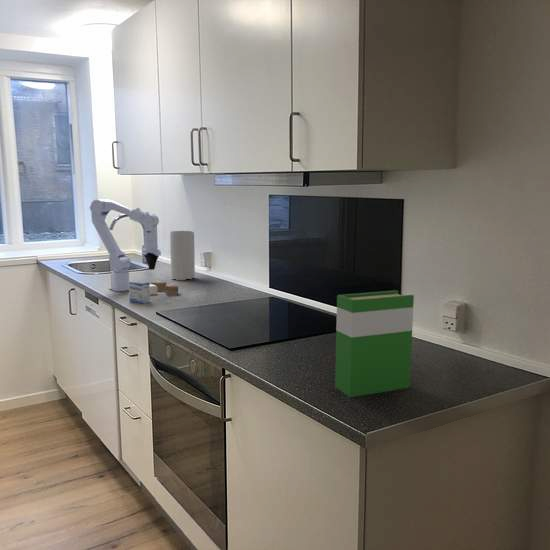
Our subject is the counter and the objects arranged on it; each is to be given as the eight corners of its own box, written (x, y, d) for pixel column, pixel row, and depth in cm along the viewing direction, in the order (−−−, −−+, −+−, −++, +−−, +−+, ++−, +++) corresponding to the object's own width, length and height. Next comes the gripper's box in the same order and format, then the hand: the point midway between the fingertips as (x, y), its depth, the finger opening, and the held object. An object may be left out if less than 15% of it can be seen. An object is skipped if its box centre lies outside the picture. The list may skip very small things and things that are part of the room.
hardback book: (392, 378, 158) (396, 290, 154) (409, 387, 151) (413, 295, 147) (334, 387, 151) (337, 295, 147) (349, 397, 144) (352, 300, 140)
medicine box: (129, 301, 254) (128, 282, 253) (136, 300, 258) (135, 280, 257) (143, 303, 251) (142, 283, 250) (150, 302, 255) (149, 282, 253)
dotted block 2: (165, 293, 275) (164, 284, 274) (175, 292, 277) (175, 283, 276) (167, 295, 270) (167, 286, 269) (178, 294, 272) (178, 285, 271)
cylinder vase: (173, 276, 322) (172, 230, 318) (196, 276, 321) (196, 231, 318) (168, 280, 310) (167, 232, 306) (192, 280, 309) (191, 233, 305)
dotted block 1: (151, 290, 282) (151, 281, 281) (159, 289, 286) (159, 280, 285) (158, 291, 279) (158, 282, 278) (166, 290, 283) (166, 281, 282)
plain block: (142, 293, 273) (142, 285, 273) (152, 292, 276) (152, 284, 276) (147, 295, 269) (146, 286, 269) (157, 294, 272) (157, 285, 272)
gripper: (166, 241, 272) (167, 270, 274) (151, 238, 283) (152, 266, 286) (152, 242, 268) (153, 271, 270) (138, 239, 279) (138, 268, 281)
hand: (151, 269), depth 277 cm, fingers closed
